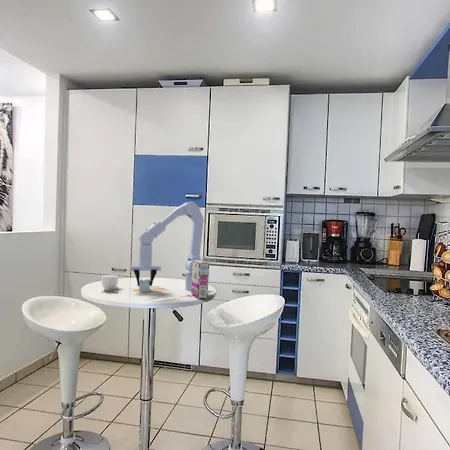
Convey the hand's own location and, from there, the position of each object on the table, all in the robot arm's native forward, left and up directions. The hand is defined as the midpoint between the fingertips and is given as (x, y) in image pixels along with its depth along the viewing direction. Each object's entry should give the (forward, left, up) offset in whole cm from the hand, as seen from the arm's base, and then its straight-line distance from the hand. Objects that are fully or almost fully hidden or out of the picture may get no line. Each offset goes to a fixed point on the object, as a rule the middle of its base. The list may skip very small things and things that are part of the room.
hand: (144, 285), depth 186 cm
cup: (+14, +11, -3) cm, 18 cm away
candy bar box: (-20, -18, -3) cm, 27 cm away
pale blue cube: (0, 0, -2) cm, 2 cm away
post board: (+1, -3, -3) cm, 5 cm away
